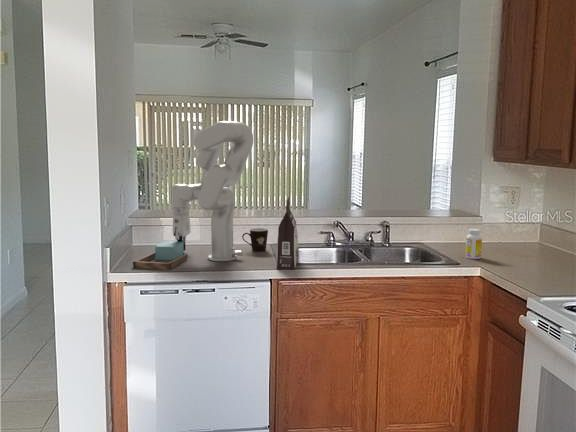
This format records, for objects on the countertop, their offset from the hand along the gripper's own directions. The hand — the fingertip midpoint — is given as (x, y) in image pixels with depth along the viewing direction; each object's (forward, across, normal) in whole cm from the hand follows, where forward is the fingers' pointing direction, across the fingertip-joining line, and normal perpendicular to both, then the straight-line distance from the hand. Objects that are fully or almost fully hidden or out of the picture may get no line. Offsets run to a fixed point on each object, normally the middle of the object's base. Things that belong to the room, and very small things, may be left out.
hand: (181, 250), depth 241 cm
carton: (+1, -9, +2) cm, 9 cm away
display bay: (+1, -22, 0) cm, 22 cm away
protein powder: (+1, -12, -52) cm, 53 cm away
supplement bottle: (+1, +21, -131) cm, 132 cm away
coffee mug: (+1, +13, -32) cm, 34 cm away
